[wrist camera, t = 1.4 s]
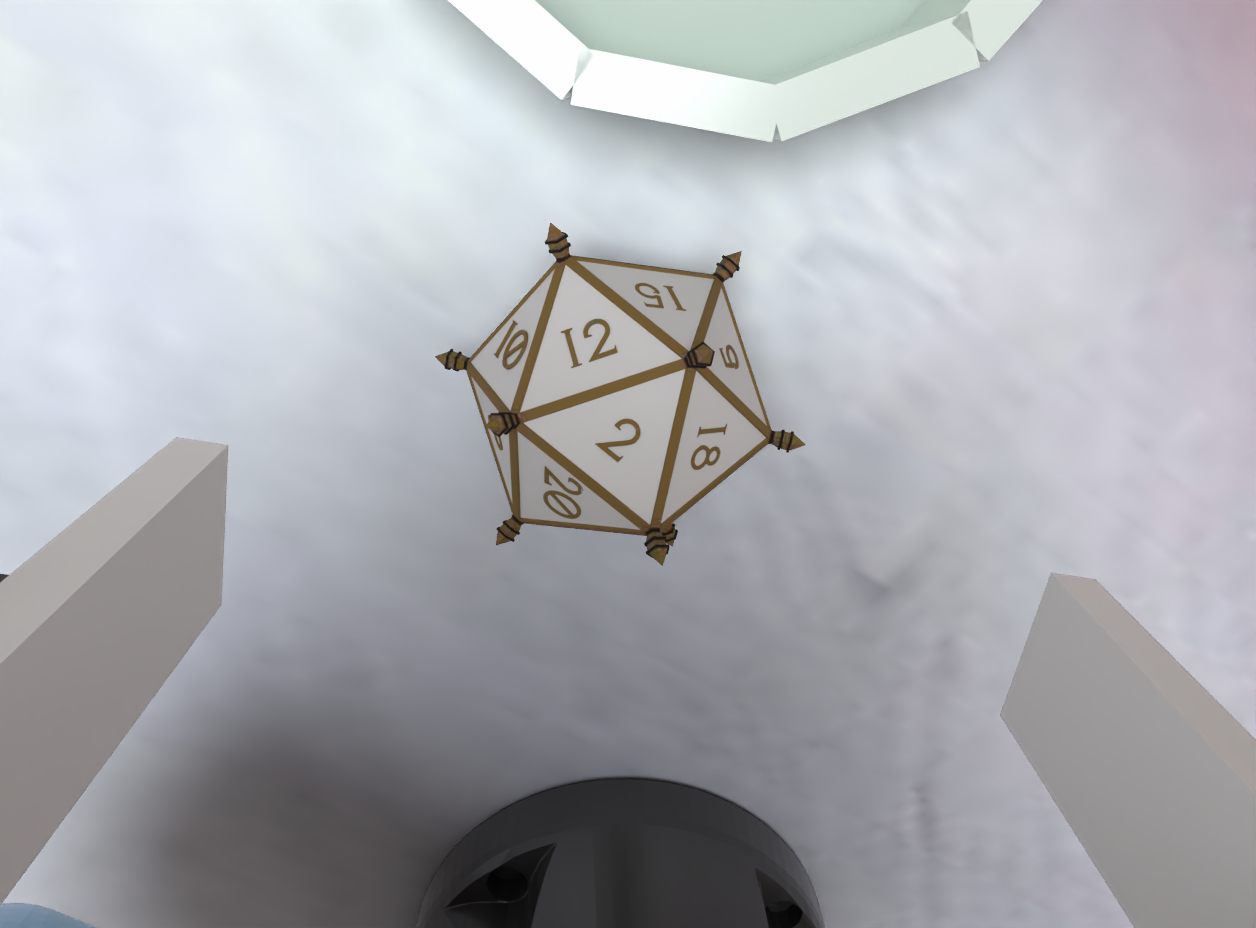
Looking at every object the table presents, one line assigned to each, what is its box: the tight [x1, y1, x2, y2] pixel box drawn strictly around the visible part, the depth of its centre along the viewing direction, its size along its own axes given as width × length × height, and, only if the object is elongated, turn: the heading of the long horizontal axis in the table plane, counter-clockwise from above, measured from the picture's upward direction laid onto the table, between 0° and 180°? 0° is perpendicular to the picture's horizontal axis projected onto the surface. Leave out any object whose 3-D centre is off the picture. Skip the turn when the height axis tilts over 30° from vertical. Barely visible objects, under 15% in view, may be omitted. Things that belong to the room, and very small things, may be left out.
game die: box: [436, 223, 805, 566], centre depth 26 cm, size 9×8×10 cm
